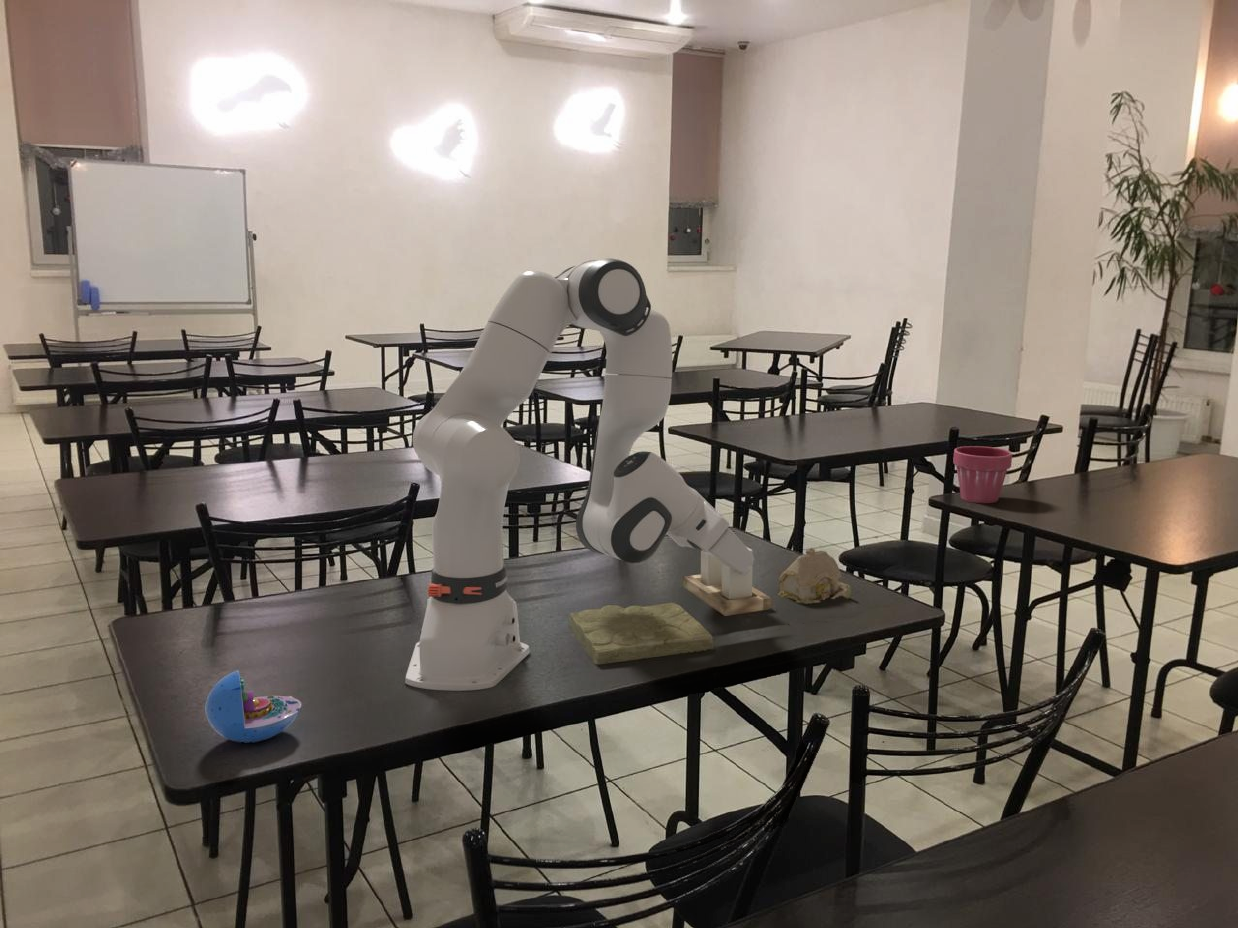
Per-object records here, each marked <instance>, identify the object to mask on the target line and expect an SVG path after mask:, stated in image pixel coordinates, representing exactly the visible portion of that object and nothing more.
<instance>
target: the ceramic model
mask: <svg viewBox="0 0 1238 928" xmlns="http://www.w3.org/2000/svg"><path fill="white" fill-rule="evenodd" d="M805 551H806V552H805V553H804V554H801V555H799V556H797V558H796V559H795V561H793V562H792V563H791V564H790V566H788V567H787V568H786V569H785V570H784V571H782V573H781V575H780V576H779V578H778V581H779V586H780V587H779V588H780V591H779V593H777V595H778V596H781V598H788V599H791V600H793V601H794V600H795V602H796V603H799V604H805V605H807V604H816V603H818V604H819V603H821V602H822V601H825V600H826V599H829V598H830V599H831V600H835V599H837V598H839V597H841V596H842V597H844V598H846V599H849V598H850V596H851V593H852V591H851V586H850V585H849V584H847V583H843V582H841V581H839V579H842V573H841V570H840V569H839V566H838V563H837V561H836V560H835V558H834V557H833V556H831V555H830V554H828V552H827V551H824V550H817V551H816V549H815V548H813V547H812V548H809V549H806V550H805ZM832 595H833V596H832ZM831 596H832V597H831Z"/></svg>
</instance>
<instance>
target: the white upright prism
mask: <svg viewBox="0 0 1238 928" xmlns="http://www.w3.org/2000/svg"><path fill="white" fill-rule="evenodd" d="M700 574H701V583H703V584H704V585H706V586H712V585H719V584H722V563H721V562H720V561H718V560H716V559H715V558H713V557H711V556H710V555H708V554H706V553H704V552H703V551H700Z"/></svg>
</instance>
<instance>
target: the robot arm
mask: <svg viewBox="0 0 1238 928" xmlns="http://www.w3.org/2000/svg"><path fill="white" fill-rule="evenodd" d="M567 327H569V328H572V329H578V330H592V331H597V332H599V334H600V335H601V336H602V339H603V341H604V344H605V350H606V355H607V356H606V360H605V361H606V362H605V363H606V364H605V374H604V385H603V386H604V387H603V397H602V404H601V410H600V411H601V412H600V415H599V418H598V419H599V420H598V423H597V428H596V433H595V438H594V445H593V446H594V447H593V450H592V451H593V453H592V457H591V458H592V459H591V460H592V461H591V467H590V473H589V480H588V481H589V482H588V486H587V491H586V493H585V494H586V495H585V497H584V499H583V501H582V504H581V506H580V508H579V510H578V512H577V516H576V520H575V529H576V530H575V531H576V534H577V537H578V539H579V541H580V543H581V544H582V545H583V547H585V548H586V549H588V551H591V552H592V553H595V554H601V555H605V556H606V555H607V556H609V557H611V558H614V559H617V560H620V561H623V562H625V563H629V564H639V563H642V562H645V561H647V560H648V559H650V558H651V557H652V556H654V554H655V553H656V552H657V550H658V549H659V547H660V545H661V544H662V542H663V541H664V538H665V537H666V535H667V536H668V537H670V539H671V540H673V541H674V542H675V543H676V545H678V546H679V547H683V548H686V547H688V548H691V549H696V550H699V551H700V552H701V551H703V552H704V553H706V554H708V555H710V556H711V557H713V558H715V559H716V560H718V561H720V562H721V563H723V564H725V565H726V566H728V567H730V568H731V569H733V570H735V571H736V572H738V573H739V574H741V575H743V576H746V575H747V574H748V573H749V572H750V568H749V567H750V566H751V565H752V564H754V562H755V557H754V554H753V555H752V553H751V552H750V551H749V550H748V548H749V547H748V546H746V545H745V544H744V543H743V541H742V540H741V539H740V538H739V537H738V536H737V534H735V532H733V530H731V529H730V528H729V526H730V522H729V521H728V520H726V518H724V517H723V516H722V515H721V514H720V513H718V512H717V510H716V509H715V507H713V506H712V505H711V503H709V502H708V501H707V500H706V499H705V497H703V496H702V495H701V494H700V493H699V492H698V491H697V490H696V489H695V488H692V487H691V486H689V485H688V484H687V483H686V481H685V480H684V477H683V476H682V475H681V474H680V473H679V472H678V471H677V470H676V469H674V467H672V466H671V465H670V463H668V462H666V460H664V459H663V458H662V457H660V456H659V455H657V454H656V453H654V452H651V451H642V450H641V451H637V452H635V453H633V454H631V450H632V449H633V446H634V444H635V442H637V440H638V439H639V438H640V437H641V436H642V435H643V434H644V433H646V432H647V431H650V430H651V429H653V428H654V427H655V426H656V425H658V424H659V423H660V422H661V421H662V420H663V419H664V418H665V416H666V414H667V412H668V411H667V410H668V407H669V404H670V401H671V400H670V399H671V394H672V380H673V379H672V377H673V344H672V334H671V327H670V324H669V321H668V320H667V318H666V317H665V316H664V314H661V313H660V312H658V311H656V310H653V309H652V305H651V302H650V300H649V297H648V295H647V291H646V286H645V283H644V280H643V278H642V276H641V274H640V273H639V272H638V270H637V269H636V268H635V267H634V266H633V265H632V264H629V262H626V261H623V260H621V259H616V258H603V259H592V260H588V261H584V262H581V263H579V264H576V265H573V266H570V267H568V268H566V269H565V270H563V271H562V272H560V273H558V274H557V275H556V276H552V274H549V273H547V272H543V271H540V270H539V271H538V270H527V271H524V272H521V273H520V274H518V276H517V277H516V278H514V280H513V282H511V284H510V285H509V287H508V288H507V290H505V292H504V293H503V295H502V296H501V297H500V299H499V301H498V303H497V305H496V306H495V308H493V311H492V312H491V314H490V317H489V318H488V320H487V323H486V324H485V326H484V328H483V330H482V331H481V334H480V336H479V338H478V339H477V342H476V344H475V346H474V347H473V350H472V351H471V353H470V356H469V358H468V360H467V361H466V363H465V365H464V366H463V367H462V370H461V371H460V373H458V375H457V377H456V378H455V380H453V382H452V383H451V384H450V386H449V387H448V388H447V390H446V391H445V392H444V394H442V396H441V397H440V399H439V400H438V401H437V403H436V404H435V405H434V407H433V408H432V409H431V410H430V411H429V412H428V413H426V414H425V415H423V416H422V418H421V419H419V420H418V421H417V424H415V425H416V426H415V427H414V430H413V432H412V447H413V449H414V452H415V454H416V456H417V457H418V460H419V461H420V463H422V465H423V467H425V468H426V469H427V470H429V472H431V473H433V474H435V475H437V476H438V477H439V478H440V479H439V480H440V494H439V500H438V507H437V511H436V514H435V516H433V518H432V521H431V537H432V538H431V539H432V555H433V556H432V558H433V559H432V561H433V567H432V569H431V571H430V572H431V575H430V579H429V584H428V586H427V587H428V588H427V595H428V597H429V598H428V599H427V600H426V604H427V605H426V608H425V613H424V618H423V621H422V628H421V630H420V637H419V641H418V642H416V643H415V645H414V649H413V652H412V654H411V655H412V656H411V659H410V661H409V665H408V667H407V671H406V674H405V680H404V683H405V684H406V685H408V686H411V687H414V688H419V689H424V690H434V691H452V692H453V691H456V692H457V691H458V692H459V691H475V690H476V691H477V690H484V689H490V688H493V687H495V686H496V685H497V684H499V683H500V682H501V680H503V679H504V678H505V677H506V676H508V674H509V673H511V671H512V670H513V669H514V668H516V666H518V665H519V663H521V662H522V661H523V660H524V659H525V658H526V657H527V656H528V655H529V654H530V653H531V651H530V646H529V645H528V644H526V643H525V642H521V640H520V639H521V638H520V626H519V615H518V614H519V613H518V603H517V602H516V601H515V600H514V599H513V598H512V597H511V595H509V593H508V591H507V588H508V572H507V567H506V565H505V564H504V538H503V533H504V532H503V526H504V525H503V523H504V522H503V521H504V520H503V519H504V512H505V511H504V510H505V504H506V500H507V496H508V491H509V486H510V483H511V482H512V481H513V480H514V478H515V477H516V475H517V473H518V470H519V467H520V462H521V455H520V453H521V452H520V449H519V446H518V444H517V442H516V440H515V439H514V438H513V437H512V436H511V434H510V433H509V432H508V431H507V430H506V429H504V427H503V426H502V425H503V423H504V422H505V421H507V419H508V417H509V416H510V415H511V414H512V413H513V412H514V411H515V410H516V409H517V408H518V407H519V406H520V405H522V404H523V403H525V402H526V401H527V400H528V399H529V398H530V396H531V394H532V392H533V390H534V389H535V386H536V384H537V382H538V380H539V379H540V376H541V374H542V372H543V370H544V367H545V366H546V364H547V362H548V360H549V358H550V355H551V354H552V352H553V350H554V348H555V345H556V342H557V341H558V338H559V337H560V336H561V335H562V333H563V332H564V330H565V329H567ZM747 547H748V548H747Z"/></svg>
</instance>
